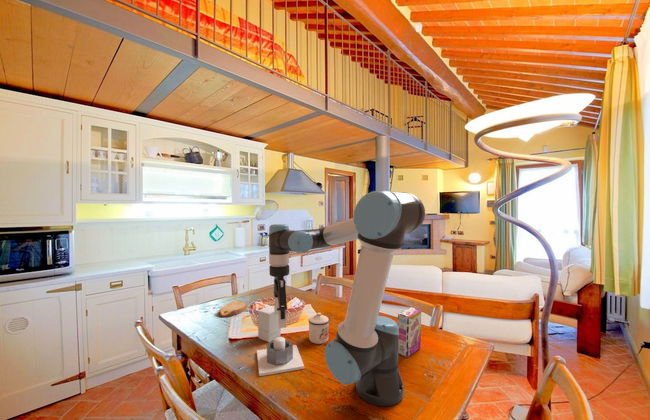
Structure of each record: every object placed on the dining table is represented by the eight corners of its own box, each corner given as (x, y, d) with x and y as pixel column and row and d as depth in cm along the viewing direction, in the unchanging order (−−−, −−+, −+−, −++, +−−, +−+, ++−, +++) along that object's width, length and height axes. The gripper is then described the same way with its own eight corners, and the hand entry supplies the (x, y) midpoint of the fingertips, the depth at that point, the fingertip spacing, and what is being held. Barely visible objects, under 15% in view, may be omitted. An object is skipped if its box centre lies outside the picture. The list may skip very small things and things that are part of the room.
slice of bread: (242, 302, 169) (242, 296, 169) (254, 311, 155) (254, 305, 155) (211, 309, 158) (211, 302, 158) (221, 319, 144) (221, 312, 144)
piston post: (304, 368, 100) (304, 347, 100) (259, 376, 96) (259, 353, 96) (296, 347, 116) (296, 328, 115) (257, 352, 111) (257, 333, 111)
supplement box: (281, 336, 125) (281, 308, 125) (268, 342, 119) (268, 313, 119) (269, 331, 129) (269, 305, 129) (257, 338, 123) (257, 310, 123)
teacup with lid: (322, 346, 116) (322, 319, 116) (304, 340, 121) (304, 314, 121) (335, 334, 127) (335, 309, 126) (318, 330, 131) (318, 306, 131)
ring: (294, 362, 102) (294, 349, 102) (267, 367, 100) (267, 353, 100) (289, 349, 112) (289, 337, 111) (265, 353, 109) (265, 340, 109)
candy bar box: (408, 358, 107) (408, 317, 107) (396, 354, 111) (397, 313, 110) (421, 348, 115) (421, 309, 115) (410, 344, 118) (410, 306, 118)
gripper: (294, 270, 94) (295, 332, 94) (284, 258, 118) (285, 307, 118) (272, 272, 92) (273, 335, 92) (266, 259, 116) (267, 309, 116)
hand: (280, 320), depth 105 cm, fingers open, 13 cm apart
